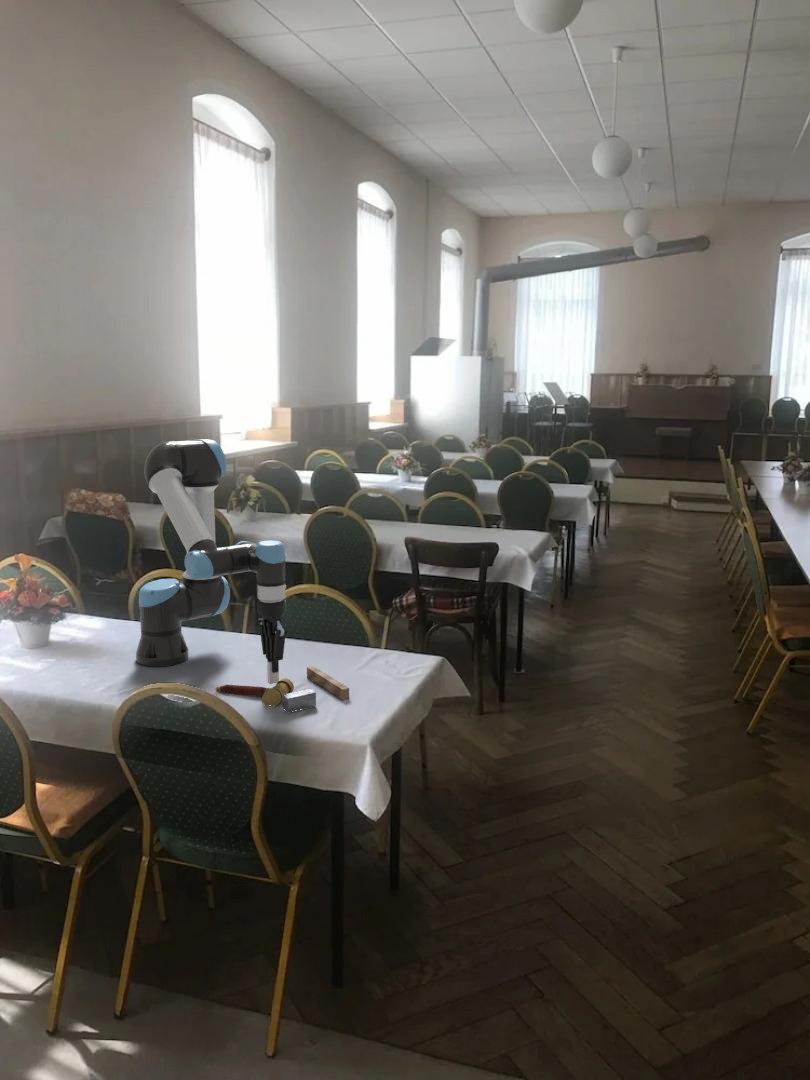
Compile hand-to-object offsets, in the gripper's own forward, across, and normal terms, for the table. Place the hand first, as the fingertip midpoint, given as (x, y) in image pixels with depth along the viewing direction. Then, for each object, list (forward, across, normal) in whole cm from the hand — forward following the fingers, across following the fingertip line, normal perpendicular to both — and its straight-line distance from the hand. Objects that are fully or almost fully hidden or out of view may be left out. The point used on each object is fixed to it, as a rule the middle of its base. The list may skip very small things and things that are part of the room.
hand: (273, 682), depth 232 cm
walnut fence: (+2, -7, -13) cm, 15 cm away
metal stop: (+2, -15, 0) cm, 16 cm away
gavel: (+3, 0, +7) cm, 8 cm away
